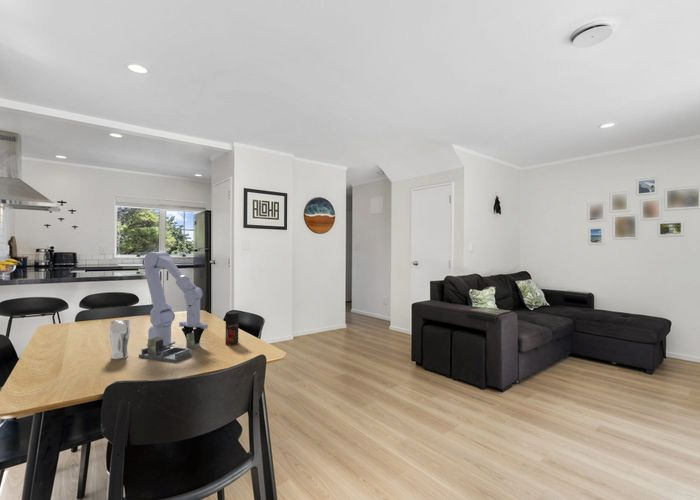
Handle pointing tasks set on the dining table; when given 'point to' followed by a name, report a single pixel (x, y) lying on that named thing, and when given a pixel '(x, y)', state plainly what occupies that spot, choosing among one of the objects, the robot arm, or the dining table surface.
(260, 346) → the dining table surface
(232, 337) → the deodorant
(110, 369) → the dining table surface
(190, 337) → the sage green rectangular prism
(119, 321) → the beer glass
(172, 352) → the grey slotted rack
